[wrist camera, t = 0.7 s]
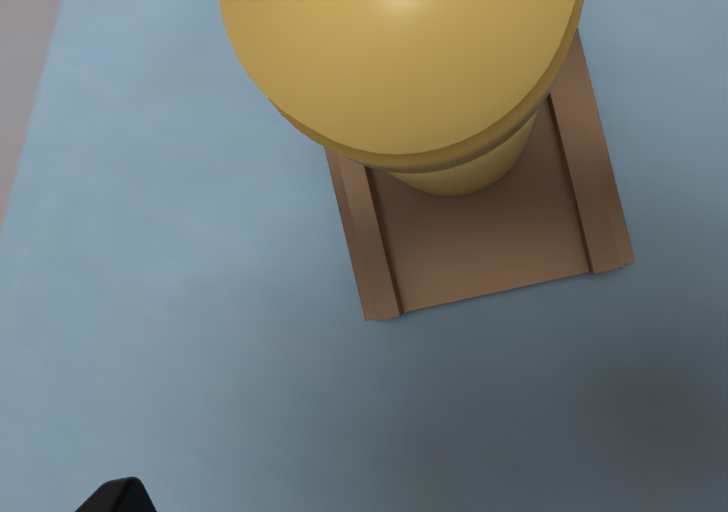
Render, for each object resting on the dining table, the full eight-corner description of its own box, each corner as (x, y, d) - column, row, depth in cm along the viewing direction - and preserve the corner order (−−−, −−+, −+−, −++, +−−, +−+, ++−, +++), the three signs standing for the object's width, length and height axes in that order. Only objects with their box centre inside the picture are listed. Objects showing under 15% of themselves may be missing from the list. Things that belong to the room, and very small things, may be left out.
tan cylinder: (555, 177, 20) (643, 91, 8) (389, 218, 21) (254, 197, 9) (514, 10, 20) (542, -316, 8) (352, 61, 21) (170, -160, 9)
